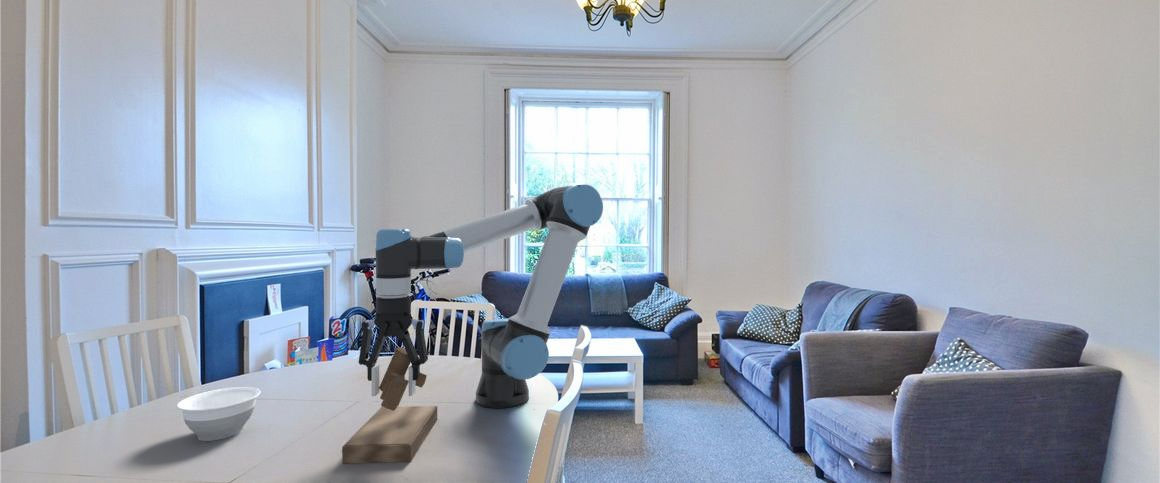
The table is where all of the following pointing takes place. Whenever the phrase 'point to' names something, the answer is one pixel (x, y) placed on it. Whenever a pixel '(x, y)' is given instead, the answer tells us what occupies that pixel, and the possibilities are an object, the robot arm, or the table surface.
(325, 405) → the table surface
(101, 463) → the table surface
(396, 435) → the plinth
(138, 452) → the table surface
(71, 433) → the table surface
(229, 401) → the bowl
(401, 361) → the wooden block set
